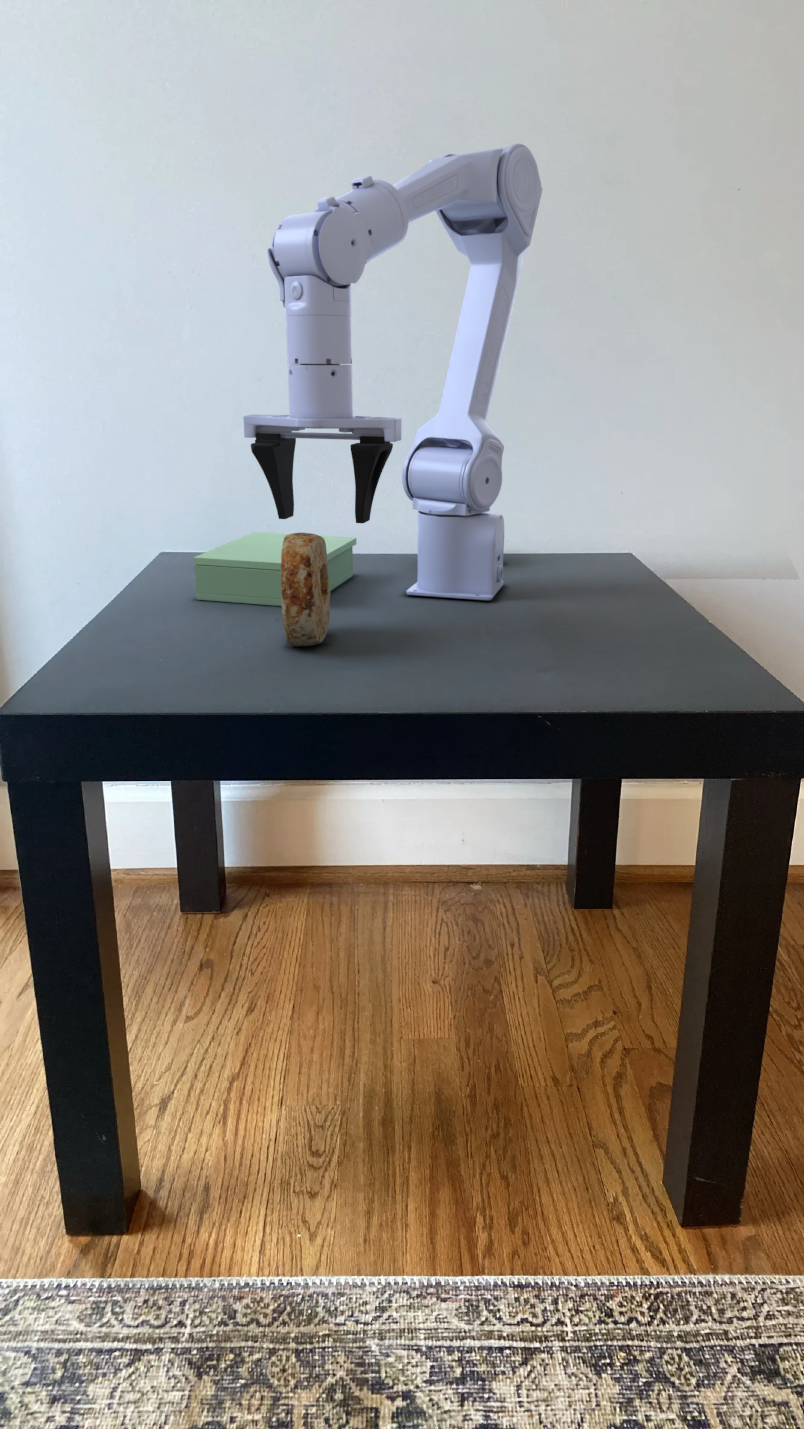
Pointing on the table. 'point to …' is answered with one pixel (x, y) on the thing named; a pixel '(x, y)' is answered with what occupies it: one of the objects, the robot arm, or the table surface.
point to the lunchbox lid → (263, 551)
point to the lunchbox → (258, 581)
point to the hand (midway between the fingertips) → (324, 519)
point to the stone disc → (305, 589)
